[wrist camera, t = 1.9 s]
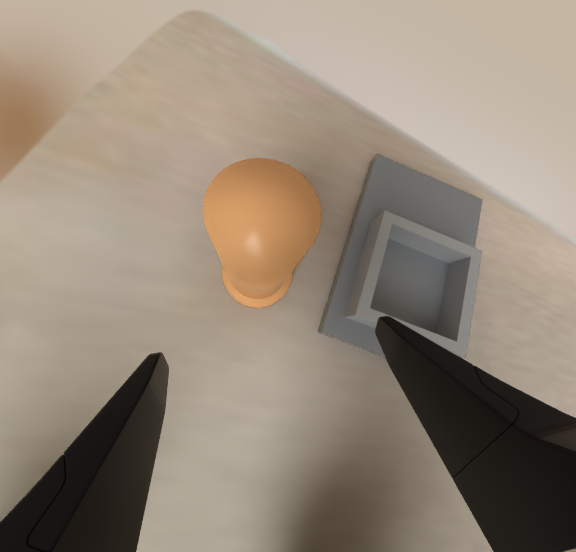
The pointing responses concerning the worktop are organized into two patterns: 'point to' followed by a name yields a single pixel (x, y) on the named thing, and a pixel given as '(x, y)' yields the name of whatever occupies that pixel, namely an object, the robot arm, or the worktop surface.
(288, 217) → the orange knob handle
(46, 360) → the worktop surface
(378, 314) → the housing
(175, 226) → the worktop surface
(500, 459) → the robot arm
